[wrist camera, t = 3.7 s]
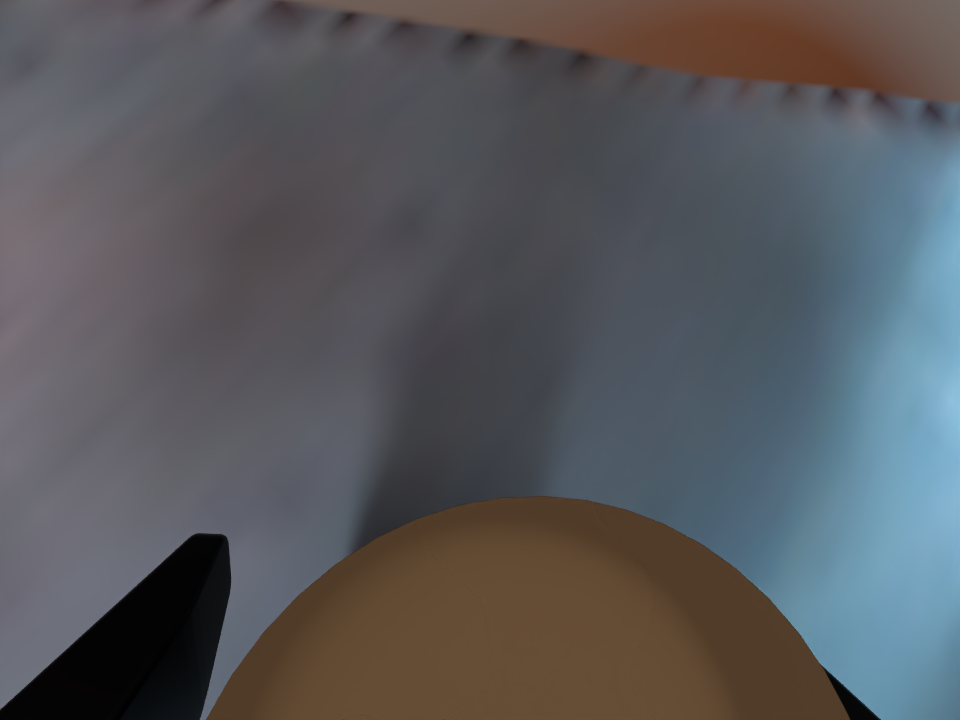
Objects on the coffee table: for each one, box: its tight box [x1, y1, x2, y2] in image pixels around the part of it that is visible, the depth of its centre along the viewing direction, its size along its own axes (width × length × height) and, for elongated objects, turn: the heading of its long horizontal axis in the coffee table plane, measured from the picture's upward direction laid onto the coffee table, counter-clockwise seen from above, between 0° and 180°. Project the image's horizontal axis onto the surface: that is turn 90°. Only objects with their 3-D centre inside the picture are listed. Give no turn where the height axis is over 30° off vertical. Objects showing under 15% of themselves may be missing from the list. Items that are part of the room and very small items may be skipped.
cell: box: [206, 496, 850, 720], centre depth 9 cm, size 4×4×13 cm
